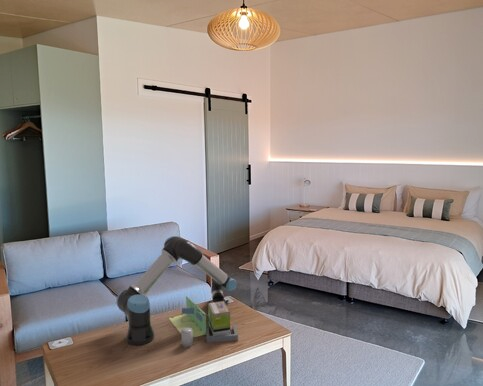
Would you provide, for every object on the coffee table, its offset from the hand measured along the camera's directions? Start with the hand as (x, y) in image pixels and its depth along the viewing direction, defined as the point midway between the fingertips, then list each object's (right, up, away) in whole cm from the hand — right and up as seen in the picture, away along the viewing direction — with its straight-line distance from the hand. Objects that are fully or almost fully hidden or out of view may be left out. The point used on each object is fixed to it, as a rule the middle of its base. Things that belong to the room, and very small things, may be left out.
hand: (220, 313), depth 234 cm
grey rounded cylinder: (-17, -10, -21) cm, 29 cm away
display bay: (+1, -9, -12) cm, 15 cm away
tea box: (0, -8, -7) cm, 11 cm away
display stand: (-20, -8, 0) cm, 22 cm away
